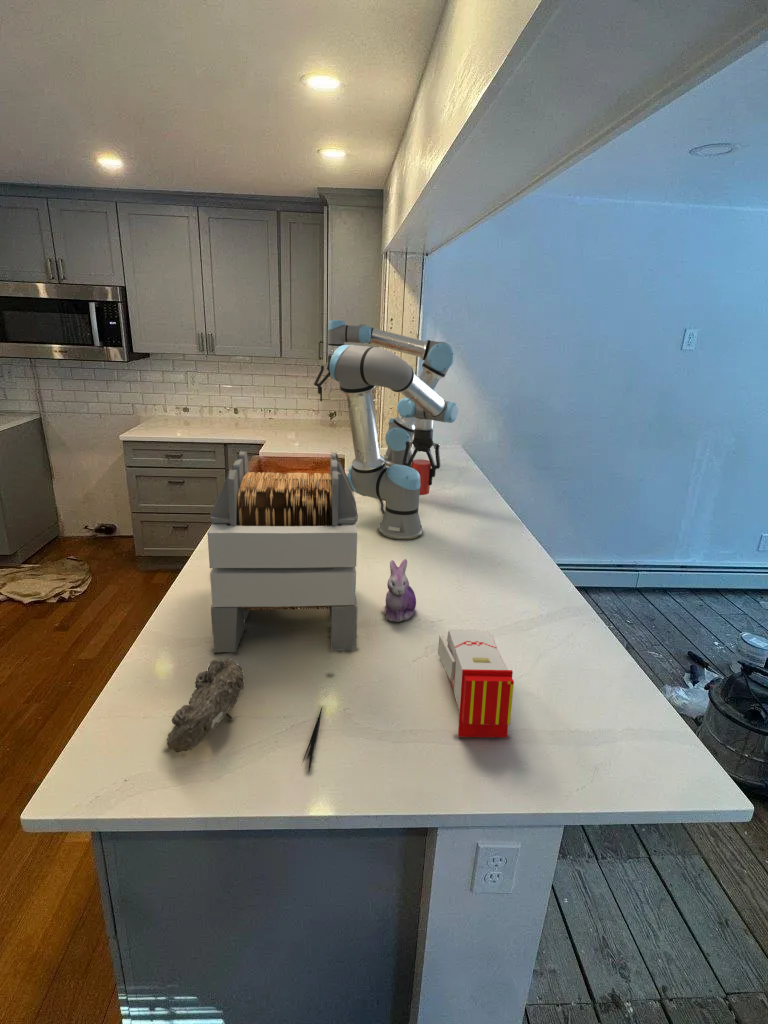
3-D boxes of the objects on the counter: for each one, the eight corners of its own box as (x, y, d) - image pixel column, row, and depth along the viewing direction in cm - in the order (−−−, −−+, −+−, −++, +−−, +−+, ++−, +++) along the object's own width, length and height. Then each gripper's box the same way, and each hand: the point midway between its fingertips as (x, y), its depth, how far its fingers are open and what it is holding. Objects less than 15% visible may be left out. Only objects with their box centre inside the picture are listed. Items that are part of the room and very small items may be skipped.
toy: (488, 613, 130) (523, 677, 101) (484, 667, 133) (517, 744, 104) (435, 612, 130) (455, 676, 101) (432, 666, 133) (451, 743, 103)
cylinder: (421, 496, 228) (424, 465, 224) (406, 491, 233) (407, 461, 229) (432, 492, 234) (435, 462, 230) (417, 487, 239) (419, 458, 235)
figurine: (392, 627, 141) (395, 572, 136) (374, 608, 149) (376, 556, 144) (425, 619, 145) (429, 566, 140) (405, 601, 154) (408, 550, 149)
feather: (331, 679, 122) (336, 673, 122) (307, 777, 96) (313, 769, 95) (324, 675, 122) (329, 669, 121) (298, 772, 95) (304, 764, 95)
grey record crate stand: (232, 584, 158) (225, 442, 144) (349, 583, 162) (353, 444, 148) (211, 655, 127) (198, 480, 113) (357, 651, 130) (362, 482, 117)
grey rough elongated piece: (192, 660, 117) (244, 628, 112) (224, 691, 120) (276, 661, 115) (142, 746, 98) (202, 712, 93) (182, 779, 101) (242, 748, 96)
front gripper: (451, 428, 226) (446, 483, 234) (400, 424, 230) (397, 478, 238) (448, 432, 219) (444, 488, 227) (396, 427, 223) (393, 482, 231)
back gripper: (308, 354, 258) (308, 401, 265) (363, 356, 261) (362, 403, 268) (309, 353, 265) (309, 399, 272) (362, 355, 268) (360, 400, 275)
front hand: (420, 483), depth 232 cm, fingers closed on cylinder, 8 cm apart
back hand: (335, 401), depth 270 cm, fingers open, 13 cm apart
